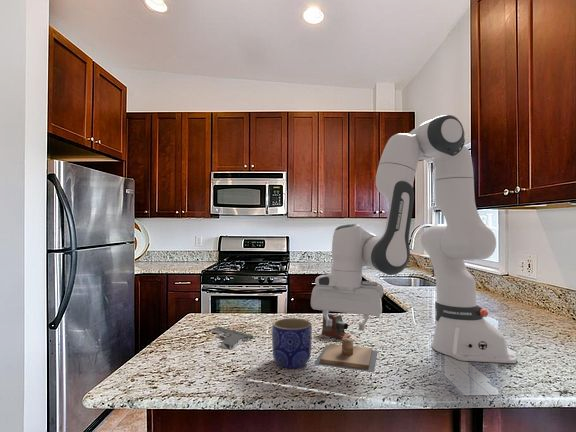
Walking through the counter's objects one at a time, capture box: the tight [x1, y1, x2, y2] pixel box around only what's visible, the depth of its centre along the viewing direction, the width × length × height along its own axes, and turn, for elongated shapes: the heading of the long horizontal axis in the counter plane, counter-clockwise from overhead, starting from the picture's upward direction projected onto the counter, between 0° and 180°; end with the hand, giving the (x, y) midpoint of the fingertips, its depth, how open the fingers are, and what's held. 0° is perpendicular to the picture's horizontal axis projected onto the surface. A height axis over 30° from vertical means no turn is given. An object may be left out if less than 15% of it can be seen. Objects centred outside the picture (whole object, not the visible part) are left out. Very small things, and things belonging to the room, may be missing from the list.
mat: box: [313, 344, 379, 373], centre depth 96 cm, size 16×16×1 cm
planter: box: [271, 317, 313, 370], centre depth 92 cm, size 11×11×11 cm
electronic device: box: [321, 313, 351, 341], centre depth 116 cm, size 4×10×8 cm, turn 44°
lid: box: [320, 337, 373, 369], centre depth 97 cm, size 13×13×5 cm
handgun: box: [211, 326, 254, 350], centre depth 113 cm, size 2×19×12 cm
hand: (345, 327), depth 97 cm, fingers open, 8 cm apart
